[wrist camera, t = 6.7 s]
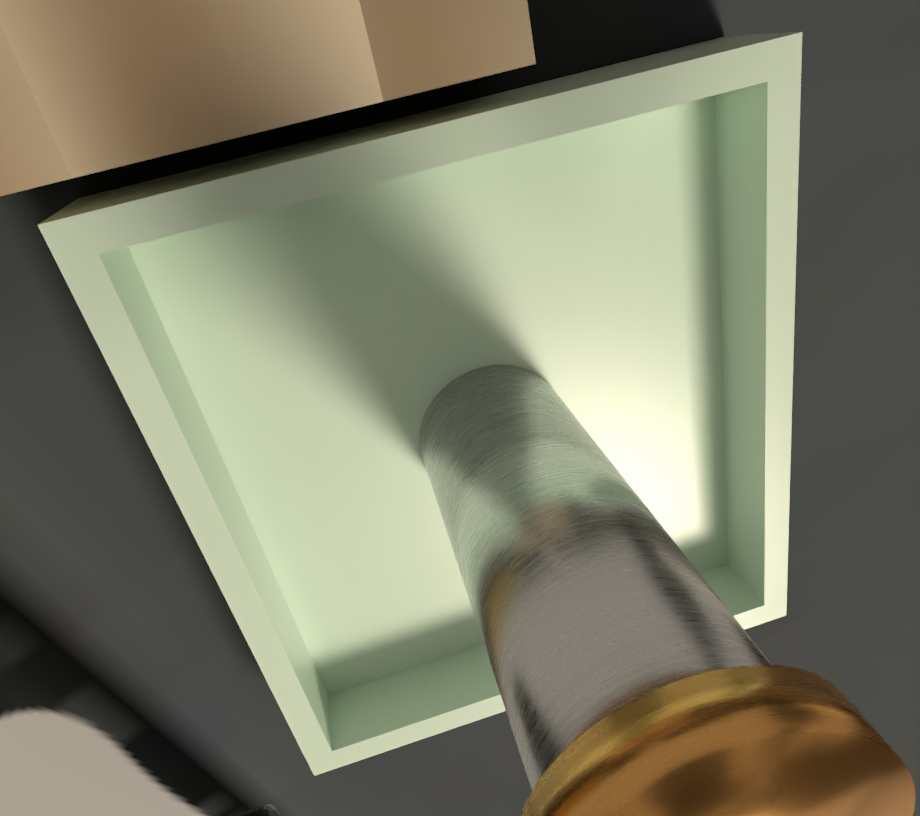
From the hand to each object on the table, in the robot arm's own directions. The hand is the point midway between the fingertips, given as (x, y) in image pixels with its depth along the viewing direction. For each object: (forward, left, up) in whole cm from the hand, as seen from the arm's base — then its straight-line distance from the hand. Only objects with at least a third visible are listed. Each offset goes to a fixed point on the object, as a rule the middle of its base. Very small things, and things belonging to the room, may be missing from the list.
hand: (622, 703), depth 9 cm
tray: (0, 0, -8) cm, 8 cm away
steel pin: (0, 0, -7) cm, 7 cm away
